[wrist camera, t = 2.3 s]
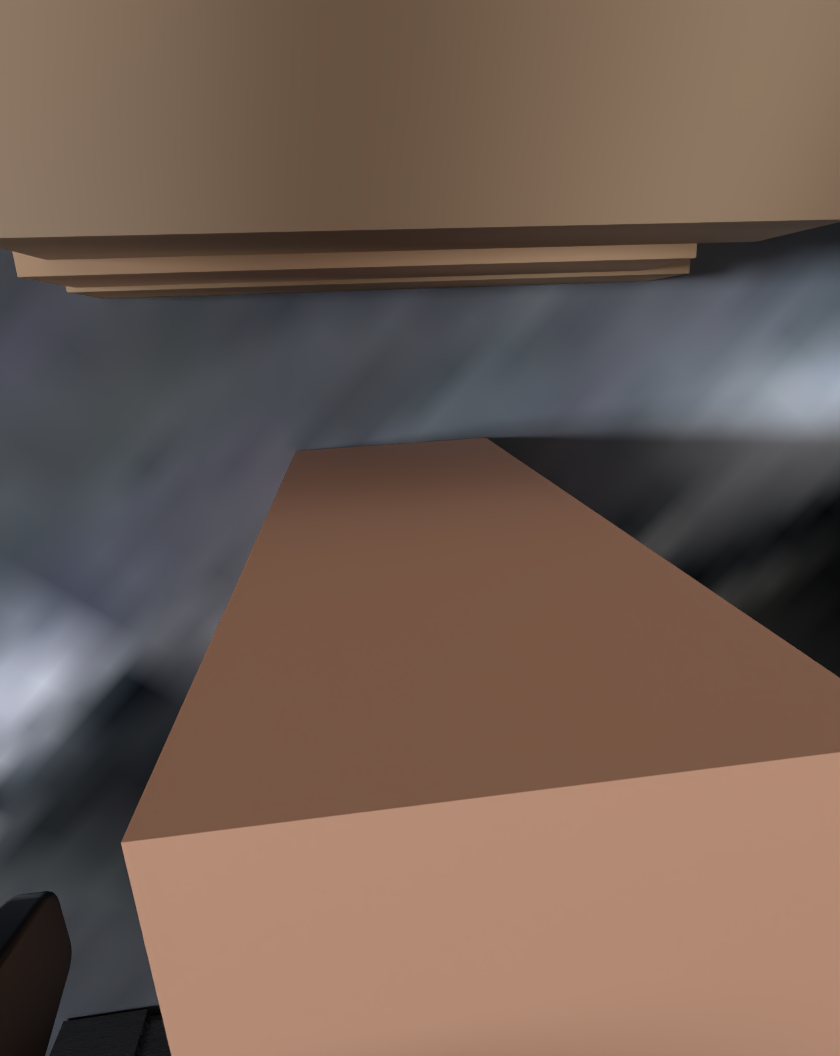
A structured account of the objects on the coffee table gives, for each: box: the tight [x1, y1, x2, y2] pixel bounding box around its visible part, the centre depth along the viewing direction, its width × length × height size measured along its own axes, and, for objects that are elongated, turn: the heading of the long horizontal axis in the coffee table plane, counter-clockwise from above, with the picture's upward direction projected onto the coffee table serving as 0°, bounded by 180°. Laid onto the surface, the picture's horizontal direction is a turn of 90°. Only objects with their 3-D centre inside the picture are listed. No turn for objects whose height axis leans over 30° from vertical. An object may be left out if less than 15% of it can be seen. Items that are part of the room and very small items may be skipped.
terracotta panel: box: [121, 438, 840, 1056], centre depth 7 cm, size 3×9×8 cm, turn 3°
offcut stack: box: [0, 0, 840, 298], centre depth 7 cm, size 8×4×4 cm, turn 92°
